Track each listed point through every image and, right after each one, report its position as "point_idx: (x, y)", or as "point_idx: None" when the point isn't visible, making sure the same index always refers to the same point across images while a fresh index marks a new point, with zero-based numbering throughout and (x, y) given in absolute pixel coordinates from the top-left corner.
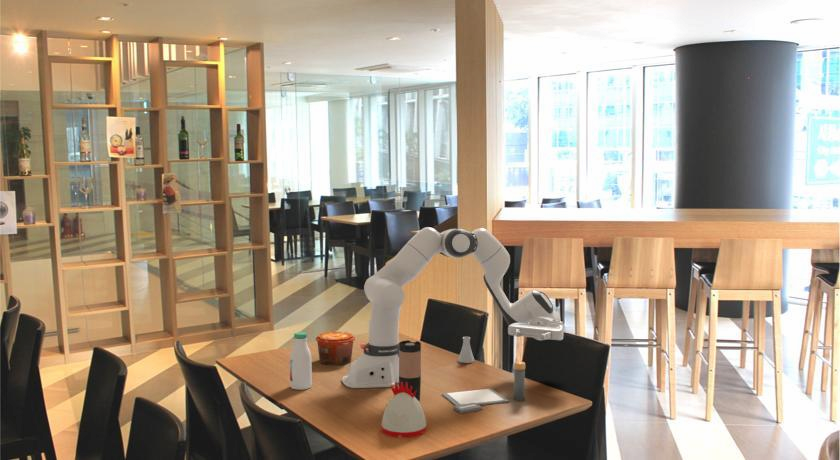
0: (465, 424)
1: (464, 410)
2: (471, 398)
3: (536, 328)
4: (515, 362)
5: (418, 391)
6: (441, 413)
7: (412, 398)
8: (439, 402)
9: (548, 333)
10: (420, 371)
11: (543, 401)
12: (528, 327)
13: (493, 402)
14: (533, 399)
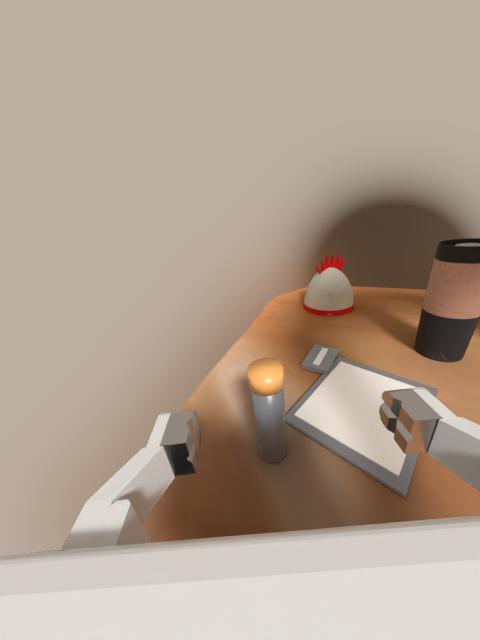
0: (284, 331)
1: (313, 346)
2: (355, 389)
3: (294, 542)
4: (279, 367)
5: (419, 335)
6: (337, 338)
7: (317, 273)
8: (387, 362)
9: (119, 471)
10: (433, 305)
11: (208, 470)
12: (453, 538)
13: (304, 395)
14: (238, 472)
